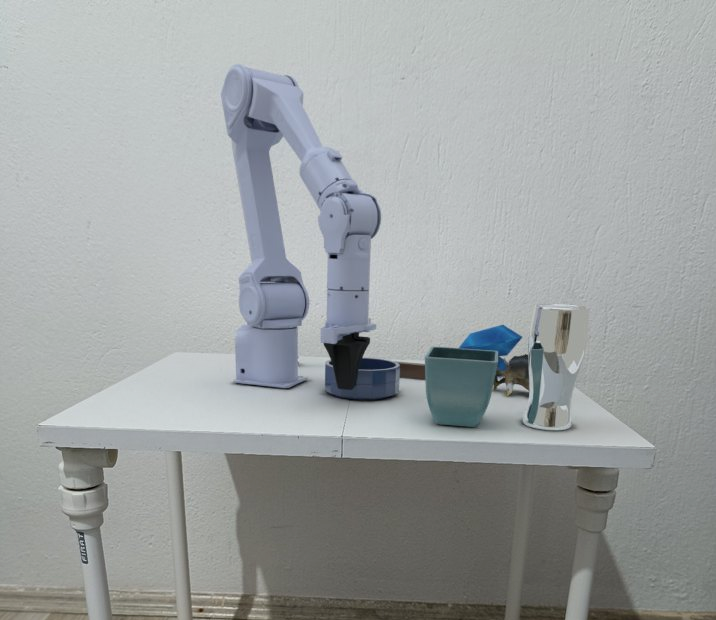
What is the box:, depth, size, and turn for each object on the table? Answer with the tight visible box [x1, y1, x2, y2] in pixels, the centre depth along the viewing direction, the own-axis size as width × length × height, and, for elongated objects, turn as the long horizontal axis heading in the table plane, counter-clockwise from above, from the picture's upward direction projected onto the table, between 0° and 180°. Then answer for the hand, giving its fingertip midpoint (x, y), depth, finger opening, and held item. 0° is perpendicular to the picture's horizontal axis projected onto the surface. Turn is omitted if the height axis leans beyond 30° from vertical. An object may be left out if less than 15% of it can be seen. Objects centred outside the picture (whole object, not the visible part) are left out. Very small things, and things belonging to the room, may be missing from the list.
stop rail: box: [393, 360, 426, 381], centre depth 115 cm, size 16×2×2 cm, turn 71°
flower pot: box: [424, 346, 499, 428], centre depth 85 cm, size 9×9×9 cm
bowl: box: [324, 357, 401, 401], centre depth 100 cm, size 11×11×4 cm
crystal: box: [458, 324, 523, 377], centre depth 118 cm, size 7×9×12 cm
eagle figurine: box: [492, 353, 529, 397], centre depth 103 cm, size 8×7×9 cm
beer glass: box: [522, 303, 590, 431], centre depth 84 cm, size 7×7×15 cm
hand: (345, 388), depth 94 cm, fingers closed
